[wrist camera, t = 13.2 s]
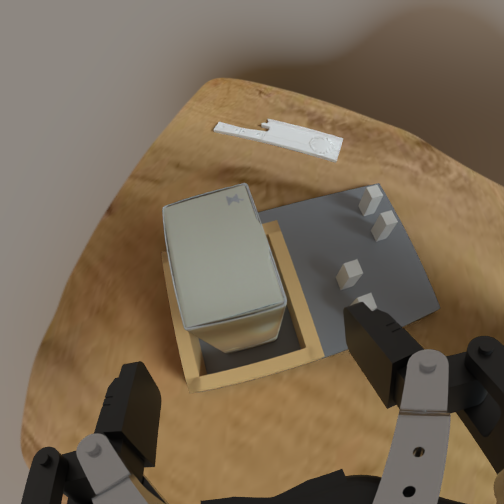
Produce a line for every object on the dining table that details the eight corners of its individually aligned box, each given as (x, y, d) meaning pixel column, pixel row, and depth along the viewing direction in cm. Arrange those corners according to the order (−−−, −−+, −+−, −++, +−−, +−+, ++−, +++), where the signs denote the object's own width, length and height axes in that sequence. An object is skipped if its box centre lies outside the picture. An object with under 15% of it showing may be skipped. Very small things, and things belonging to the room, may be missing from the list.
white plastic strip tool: (231, 111, 36) (231, 104, 35) (343, 138, 33) (345, 132, 32) (214, 134, 34) (212, 127, 33) (335, 166, 31) (336, 159, 30)
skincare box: (207, 284, 25) (158, 199, 13) (257, 270, 25) (246, 175, 14) (225, 358, 22) (179, 333, 11) (279, 344, 22) (290, 303, 11)
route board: (376, 188, 29) (387, 164, 25) (435, 311, 23) (457, 298, 19) (168, 243, 28) (154, 221, 24) (199, 392, 22) (185, 393, 18)
